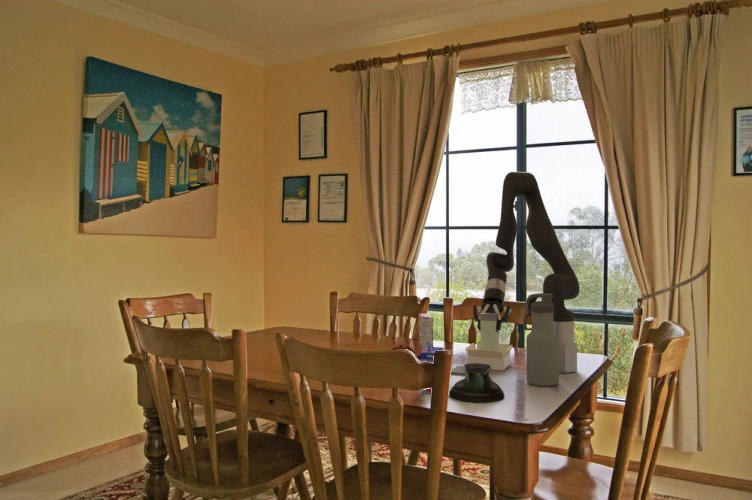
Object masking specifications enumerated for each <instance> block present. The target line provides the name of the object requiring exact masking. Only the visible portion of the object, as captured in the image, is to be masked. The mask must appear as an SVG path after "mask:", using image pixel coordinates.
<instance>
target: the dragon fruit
mask: <svg viewBox="0 0 752 500" xmlns="http://www.w3.org/2000/svg"><path fill="white" fill-rule="evenodd" d="M397 349H408V350H410V351H412V352H413V353H414V354H415V355H416V352H415V350H414V349H413V348H412V347H411V346H409V345H408V344H406V343H403V344H401V343H398V344H397V346H395V347H392V348H391V350H397Z"/></svg>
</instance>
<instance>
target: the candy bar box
mask: <svg viewBox="0 0 752 500" xmlns="http://www.w3.org/2000/svg"><path fill="white" fill-rule="evenodd" d="M433 320H434V319H433V315H432V313H418V337H419V338H418V340H419V345H418V346H419V354H420V353H421V352H422V351H423V350H425V349H426V348H427V345H426V342H428V341H429V342H430V343H431V345H432V347H434V328H433V327H434V323H433V322H434V321H433ZM428 346H430V344H428Z"/></svg>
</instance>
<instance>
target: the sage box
mask: <svg viewBox="0 0 752 500" xmlns="http://www.w3.org/2000/svg"><path fill="white" fill-rule="evenodd" d="M479 316H480V327H481V329H480V331H479V332H480V343H481V350H494V351H499V344H500V343H499V339H500V337H499V335H500V334H499V332H496V324H497V320H498V318H497V317H498V313H479Z"/></svg>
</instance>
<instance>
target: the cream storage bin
mask: <svg viewBox="0 0 752 500" xmlns="http://www.w3.org/2000/svg"><path fill="white" fill-rule="evenodd" d="M512 348H513V344H509V343H499V351H494V350H481V342H476V345H475V343H474V342H473V343H471V344H470V345H468V346H466V347H465V351H466V354H467V364H471V363H480V364H488V365H490V366H491V369H490V370H493V371H496V370H497V371H505V370H506V369H507V367H508V366H509V365H511V351H512Z"/></svg>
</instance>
